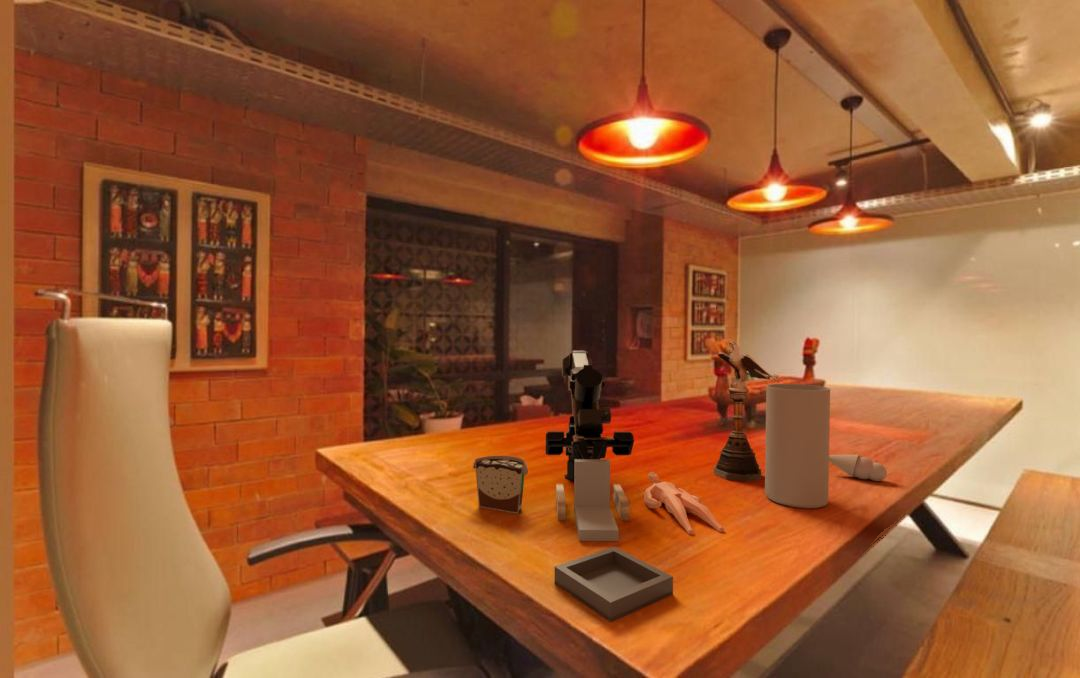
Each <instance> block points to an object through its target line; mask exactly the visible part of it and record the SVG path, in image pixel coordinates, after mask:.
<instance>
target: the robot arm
mask: <svg viewBox="0 0 1080 678" xmlns="http://www.w3.org/2000/svg"><path fill="white" fill-rule="evenodd" d="M561 377H564V384H565V385H566V386H567V390H568V391H570V397H571V398H570V399H571V409H572V410H571V411H572V412H571V413H572V415H571V416H570V417H569V421H568V425H567V428H568V429H567V430H566V431H564V430H547V432H546V433H545V455H547V456H561V455H562V454H563V453H565V456H566V457H568V460H567V461H566V474H564V478H566V479H569V480H572V481H574V459H605V458H606V456H607V455H606V454H607V449H608V448H611V449H612V453H613V454H614V455H615V456H630V455H632V451H633V447H634V444H635V436H634V434H633V433H632V432H631V431H630V430H629V431H627V430H626V431H625V430H623V431H622V430H620V431H618V430H614V431H613V434H612V435H613V437H610V436H605V437H604V436H602V435H603V434H604V426H603V425H605V424H606V425H607V424H610V423H611V421H612V412H611V411H612V410H611V407H608V406H603V407H602V406H601V409H600V407H599V400H600V397H601V391H602V390H603V388H604V387H605V386H606V385H605V380H603V375H602V374H601V372H599V370H597V369H595V368H593V361H592V358H590V356H589V352H588V351H586V350H572V351H569V354H568V355H567V356H566V357H564V358H563V359H562V365H561Z"/></svg>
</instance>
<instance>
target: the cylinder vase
mask: <svg viewBox="0 0 1080 678" xmlns="http://www.w3.org/2000/svg"><path fill="white" fill-rule="evenodd" d="M765 388H766V389H765V391H766V393H765V397H766V398H765V400H766V401H765V455H764V457H765V458H764V459H765V463H764V465H765V467H764V469H765V470H764V472H765V473H764V478H765V479H764V493H765V495H766V497H767V498H768V499H769V500H771V501H772V502H775V503H776V504H780V505H783V506H786V507H791V508H797V509H798V508H799V509H819V508H822V507H825V506H826V505H827V504H828V503H829V484H830V481H829V480H830V478H829V477H830V476H829V475H830V462H829V455H830V428H831V427H830V423H831V422H830V420H831V413H830V412H831V388H830V387H828V386H822V385H812V384H796V383H795V384H794V383H771V384H766V386H765Z"/></svg>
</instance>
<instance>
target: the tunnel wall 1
mask: <svg viewBox="0 0 1080 678" xmlns="http://www.w3.org/2000/svg"><path fill="white" fill-rule="evenodd" d="M555 505H556V514H557V521H566V520H567V519H566V516H567V515H566V514H567V512H566V511H567V510H566V507H567V506H566V505H567V503H566V496H565V489H564V484H563V483H556V484H555Z"/></svg>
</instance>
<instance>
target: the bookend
mask: <svg viewBox="0 0 1080 678" xmlns="http://www.w3.org/2000/svg"><path fill="white" fill-rule="evenodd" d="M573 481H574V482H573V483H574V484H573V485H574V486H573V488H574V489H573V491H574V493H573V496H574V497H573V503H574V506H573V514H574V520H575V526H576V531H577V536H578V541H579V542H619V539H620V530H619V527H618V524H617V522H616V520H615V519H616V518H615V516H614V514H613V511H612V508H611V461H610V459H605V458H601V459H574V480H573Z"/></svg>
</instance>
